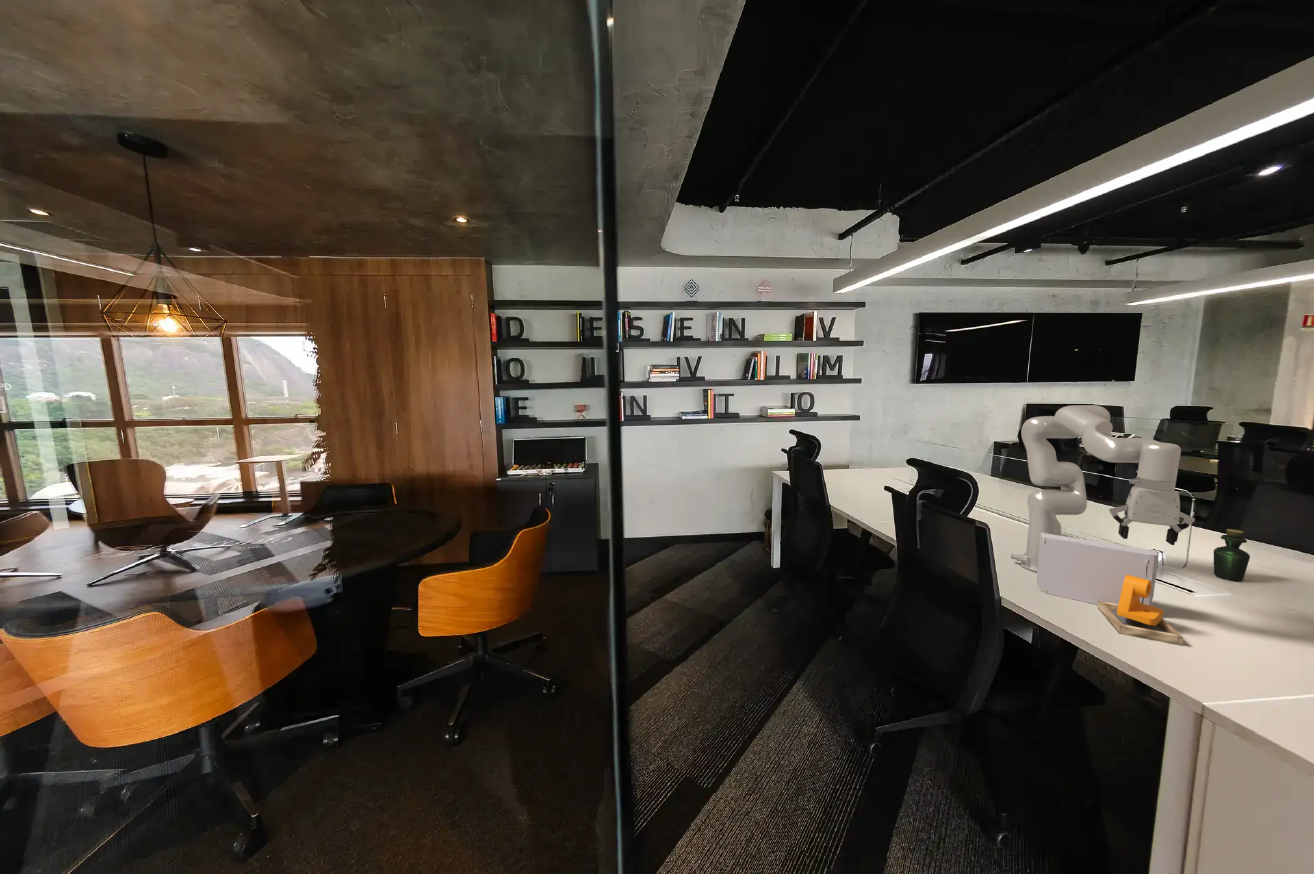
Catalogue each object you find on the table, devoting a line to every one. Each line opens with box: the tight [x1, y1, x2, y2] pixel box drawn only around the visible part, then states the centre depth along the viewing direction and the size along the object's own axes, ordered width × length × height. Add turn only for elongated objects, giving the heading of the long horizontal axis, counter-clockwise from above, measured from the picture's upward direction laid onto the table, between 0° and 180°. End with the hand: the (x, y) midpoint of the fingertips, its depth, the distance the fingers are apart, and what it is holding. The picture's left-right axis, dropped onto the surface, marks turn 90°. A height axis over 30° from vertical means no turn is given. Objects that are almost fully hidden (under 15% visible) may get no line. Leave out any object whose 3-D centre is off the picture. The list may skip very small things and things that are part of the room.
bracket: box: [1117, 575, 1165, 626], centre depth 129 cm, size 11×7×12 cm, turn 119°
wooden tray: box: [1097, 601, 1184, 647], centre depth 130 cm, size 12×16×2 cm
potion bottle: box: [1213, 528, 1251, 583], centre depth 159 cm, size 8×8×18 cm
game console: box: [1035, 533, 1159, 606], centre depth 144 cm, size 6×27×20 cm, turn 47°
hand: (1146, 540), depth 129 cm, fingers open, 9 cm apart
